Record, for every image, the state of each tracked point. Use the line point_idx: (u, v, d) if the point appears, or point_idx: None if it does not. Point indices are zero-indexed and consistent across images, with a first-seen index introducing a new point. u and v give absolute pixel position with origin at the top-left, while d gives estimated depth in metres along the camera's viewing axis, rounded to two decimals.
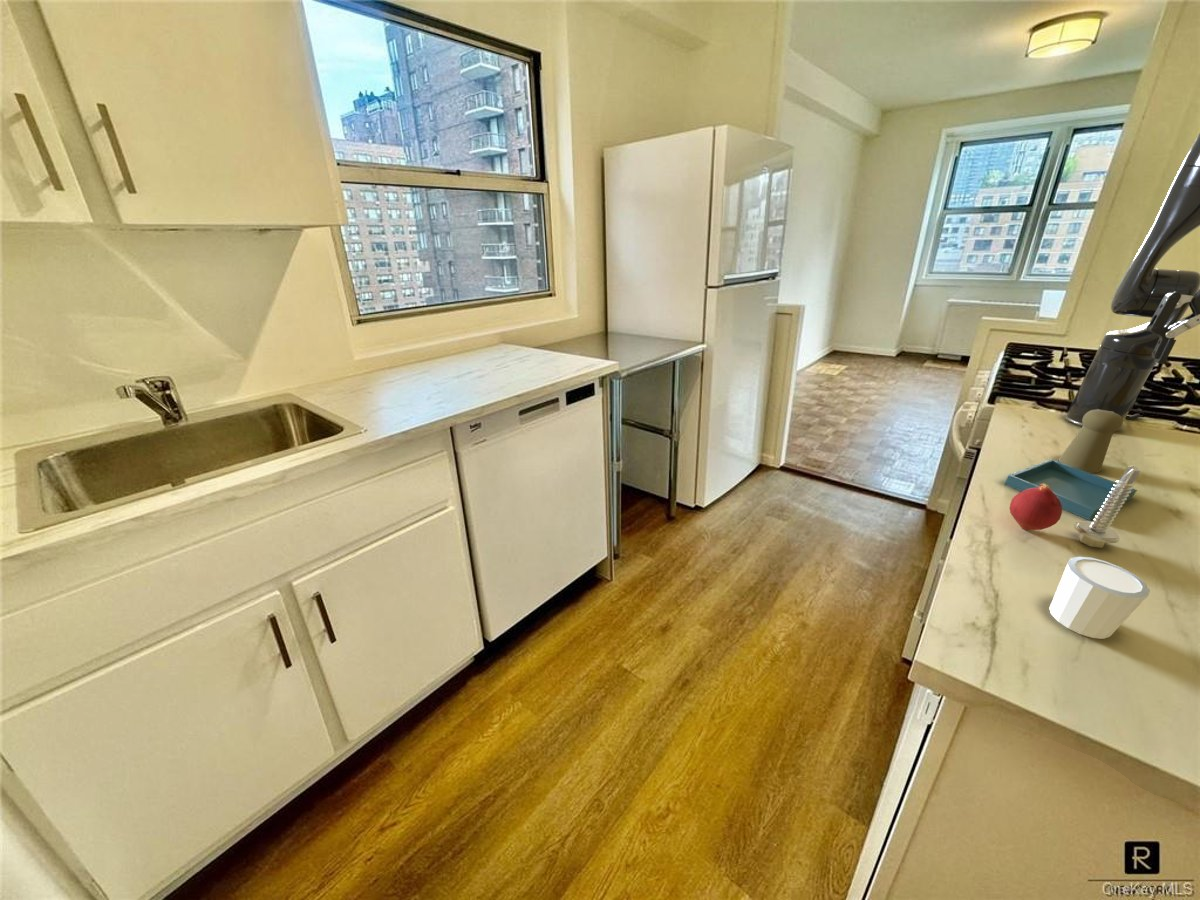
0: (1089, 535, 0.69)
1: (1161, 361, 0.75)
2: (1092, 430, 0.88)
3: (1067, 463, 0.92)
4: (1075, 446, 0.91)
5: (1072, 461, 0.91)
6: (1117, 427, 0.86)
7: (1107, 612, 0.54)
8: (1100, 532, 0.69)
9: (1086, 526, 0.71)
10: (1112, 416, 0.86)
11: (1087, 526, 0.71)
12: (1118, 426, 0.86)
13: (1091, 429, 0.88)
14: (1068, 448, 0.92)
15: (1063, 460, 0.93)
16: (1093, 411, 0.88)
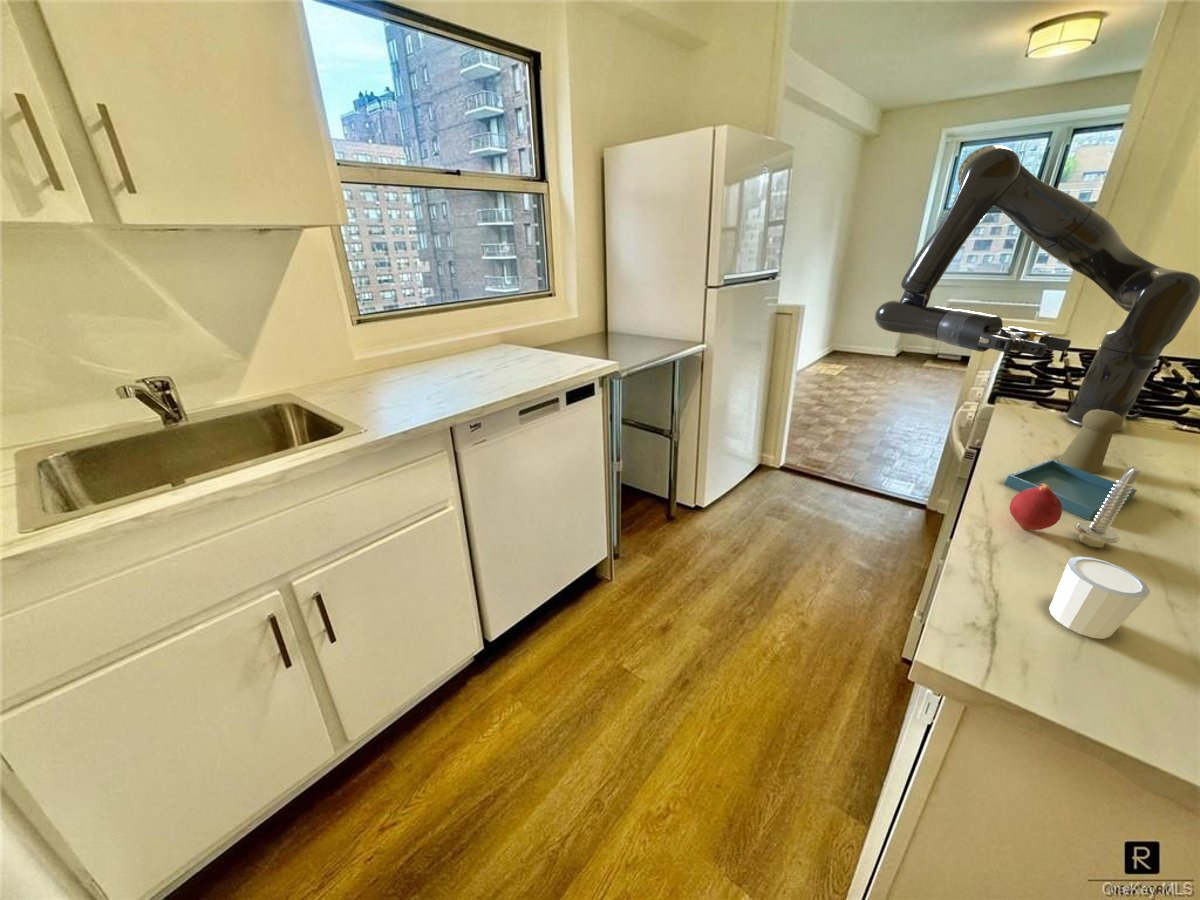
0: (1089, 535, 0.69)
1: (1064, 350, 0.95)
2: (1092, 430, 0.88)
3: (1067, 463, 0.92)
4: (1075, 446, 0.91)
5: (1072, 461, 0.91)
6: (1117, 427, 0.86)
7: (1107, 612, 0.54)
8: (1100, 532, 0.69)
9: (1086, 526, 0.71)
10: (1112, 416, 0.86)
11: (1087, 526, 0.71)
12: (1118, 426, 0.86)
13: (1091, 429, 0.88)
14: (1068, 448, 0.92)
15: (1063, 460, 0.93)
16: (1093, 411, 0.88)
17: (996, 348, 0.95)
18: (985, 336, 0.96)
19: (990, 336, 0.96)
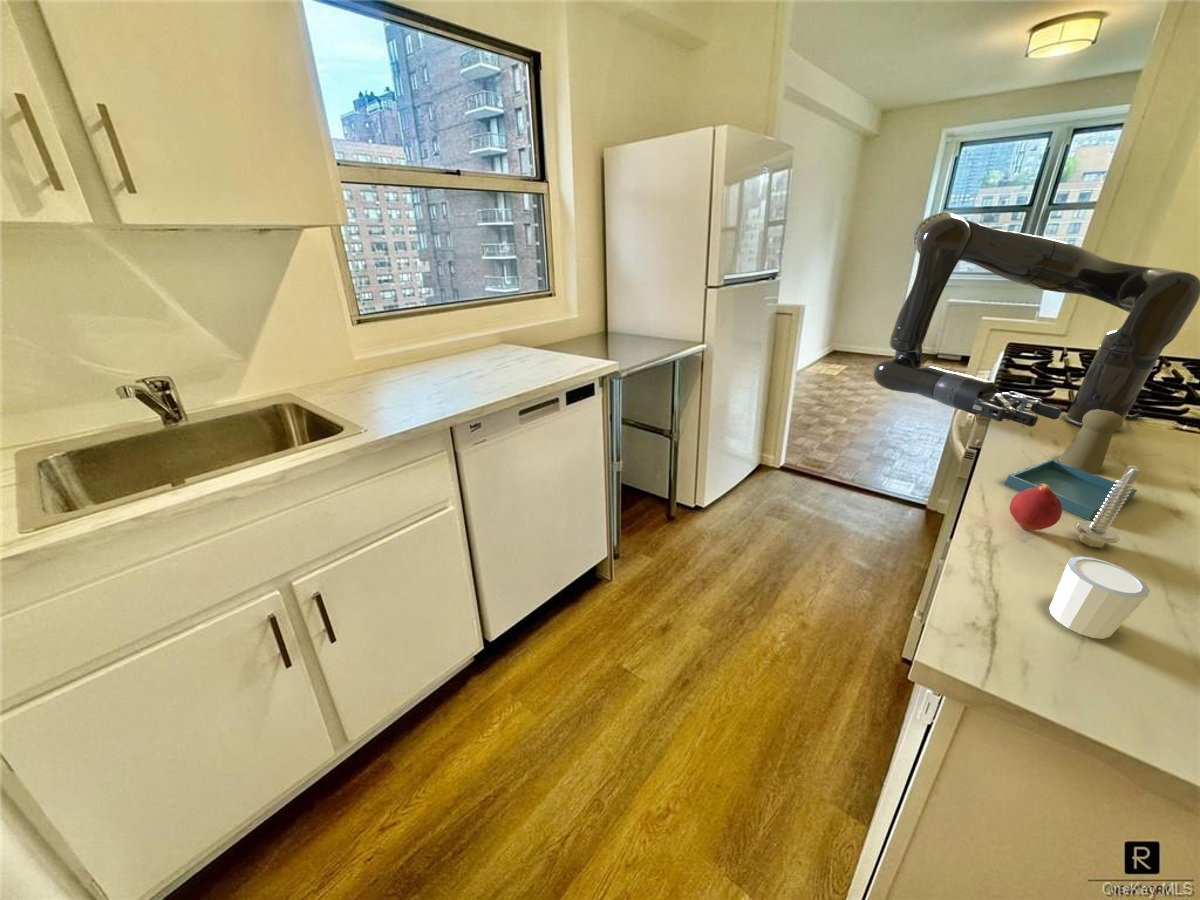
0: (1089, 535, 0.69)
1: None
2: (1092, 430, 0.88)
3: (1067, 463, 0.92)
4: (1075, 446, 0.91)
5: (1072, 461, 0.91)
6: (1117, 427, 0.86)
7: (1107, 612, 0.54)
8: (1100, 532, 0.69)
9: (1086, 526, 0.71)
10: (1112, 416, 0.86)
11: (1087, 526, 0.71)
12: (1118, 426, 0.86)
13: (1091, 429, 0.88)
14: (1068, 448, 0.92)
15: (1063, 460, 0.93)
16: (1093, 411, 0.88)
17: (989, 416, 0.99)
18: (978, 403, 1.00)
19: (983, 404, 0.99)
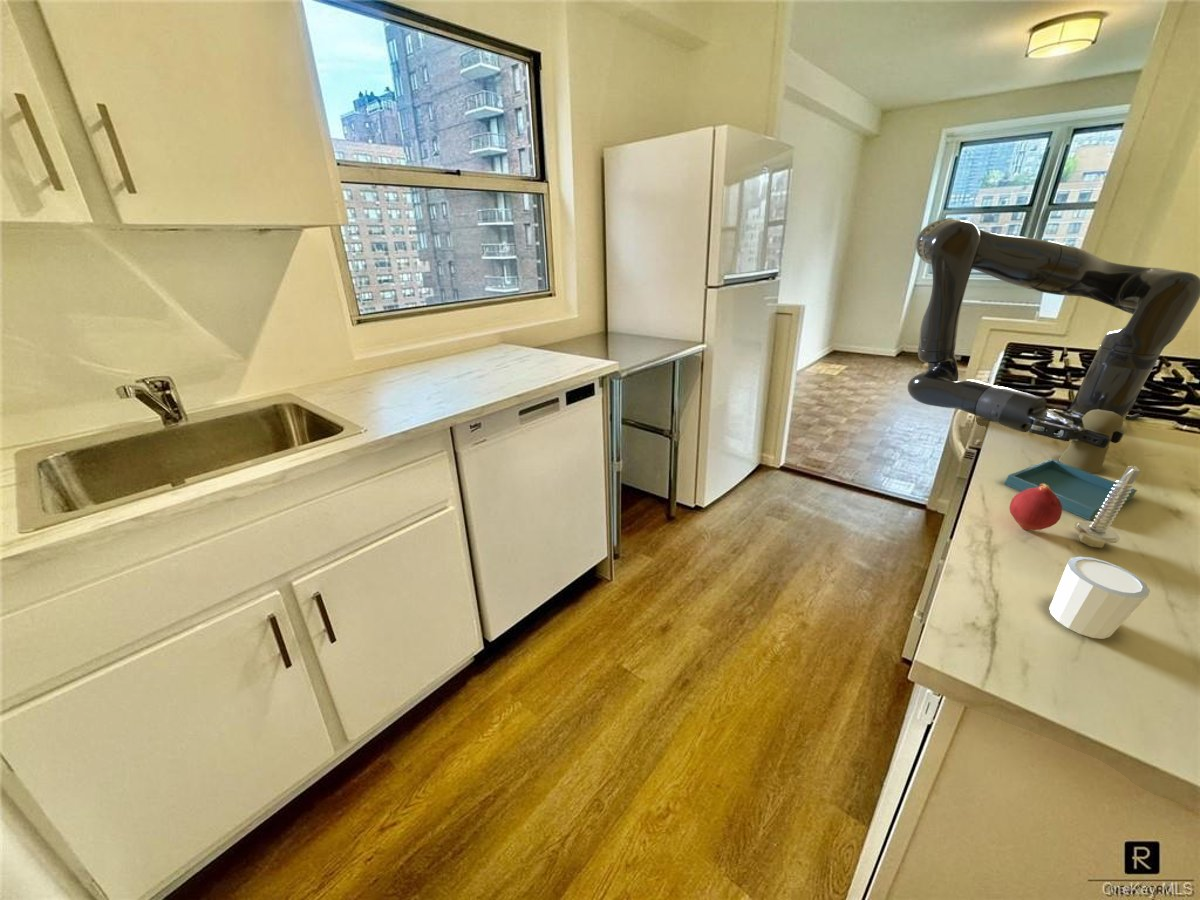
0: (1089, 535, 0.69)
1: (1116, 442, 0.89)
2: (1092, 430, 0.88)
3: (1067, 463, 0.92)
4: (1075, 446, 0.91)
5: (1072, 461, 0.91)
6: (1117, 427, 0.86)
7: (1107, 612, 0.54)
8: (1100, 532, 0.69)
9: (1086, 526, 0.71)
10: (1112, 417, 0.86)
11: (1087, 526, 0.71)
12: (1118, 426, 0.86)
13: (1091, 429, 0.88)
14: (1068, 448, 0.92)
15: (1063, 460, 0.93)
16: (1093, 411, 0.88)
17: (1054, 437, 0.91)
18: (1040, 424, 0.92)
19: (1046, 424, 0.91)
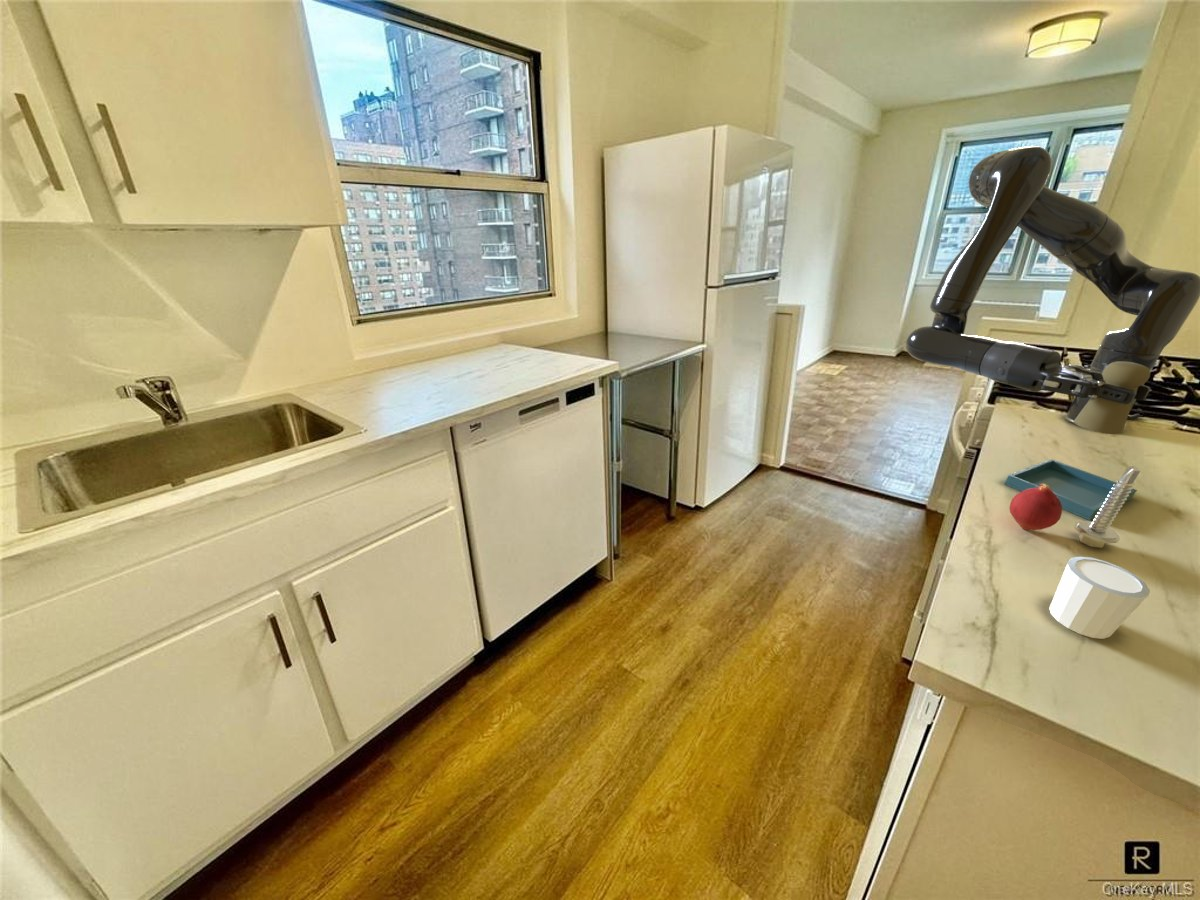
0: (1089, 535, 0.69)
1: None
2: (1114, 384, 0.77)
3: (1084, 424, 0.81)
4: (1093, 404, 0.80)
5: (1090, 422, 0.80)
6: (1143, 380, 0.75)
7: (1107, 612, 0.54)
8: (1100, 532, 0.69)
9: (1086, 526, 0.71)
10: (1138, 368, 0.75)
11: (1087, 526, 0.71)
12: (1145, 379, 0.75)
13: (1112, 384, 0.77)
14: (1085, 407, 0.81)
15: (1079, 421, 0.82)
16: (1116, 363, 0.77)
17: (1070, 393, 0.79)
18: (1054, 379, 0.80)
19: (1061, 379, 0.80)
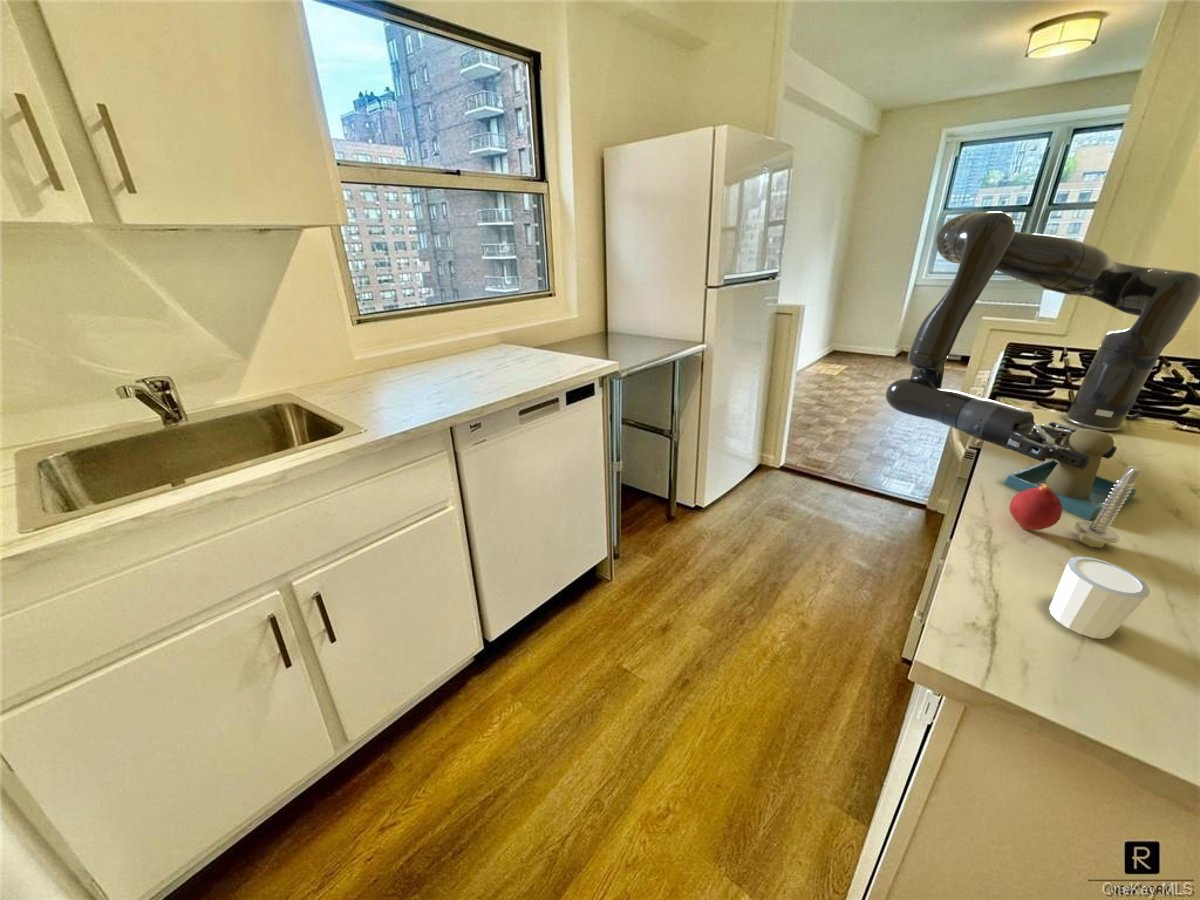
0: (1089, 535, 0.69)
1: (1108, 457, 0.81)
2: (1079, 451, 0.80)
3: (1053, 487, 0.83)
4: (1061, 469, 0.82)
5: (1058, 486, 0.82)
6: (1107, 449, 0.77)
7: (1107, 612, 0.54)
8: (1100, 532, 0.69)
9: (1086, 526, 0.71)
10: (1101, 437, 0.77)
11: (1087, 526, 0.71)
12: (1108, 448, 0.77)
13: (1078, 451, 0.80)
14: (1054, 471, 0.84)
15: (1048, 484, 0.84)
16: (1081, 431, 0.80)
17: (1028, 454, 0.82)
18: (1015, 439, 0.83)
19: (1021, 440, 0.83)
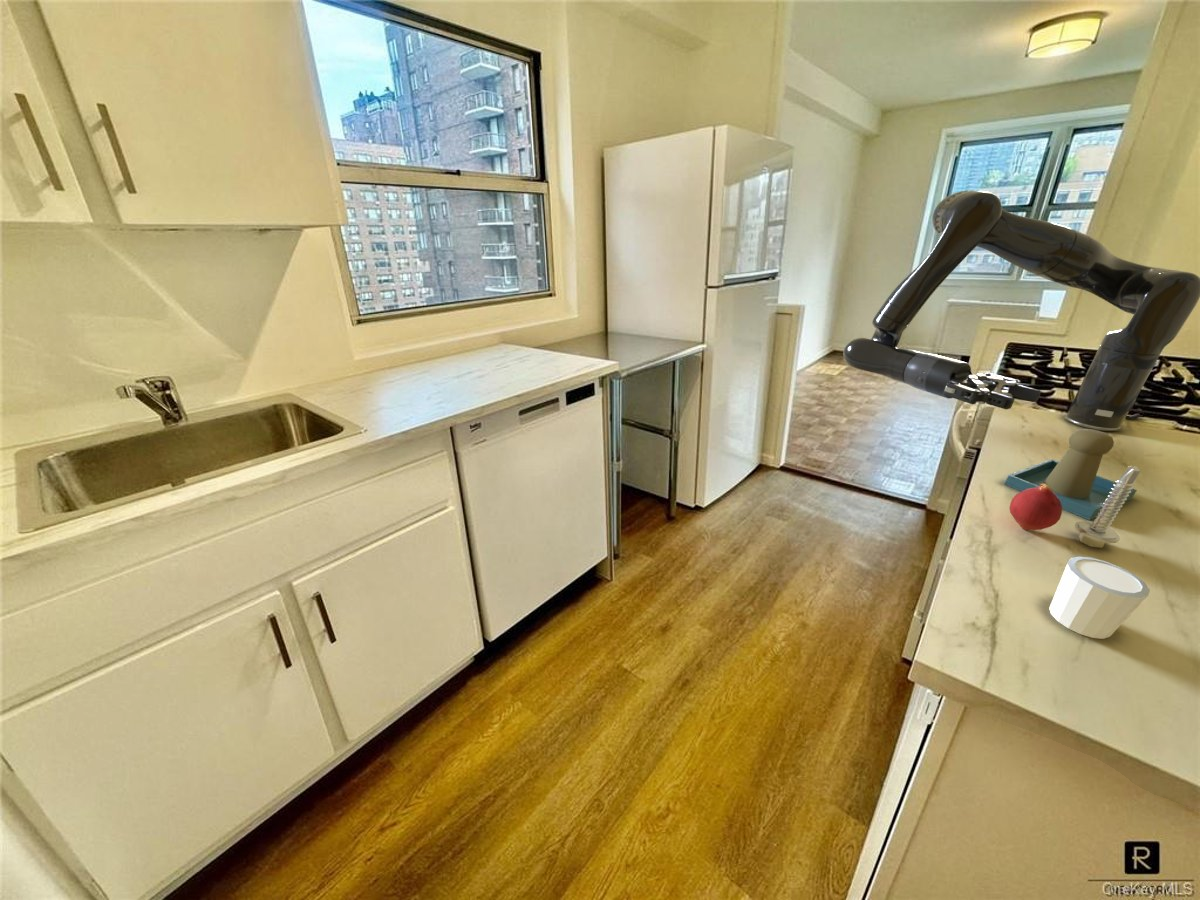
0: (1089, 535, 0.69)
1: None
2: (1079, 451, 0.80)
3: (1053, 487, 0.83)
4: (1061, 469, 0.82)
5: (1058, 486, 0.82)
6: (1107, 449, 0.77)
7: (1107, 612, 0.54)
8: (1100, 532, 0.69)
9: (1086, 526, 0.71)
10: (1101, 437, 0.77)
11: (1087, 526, 0.71)
12: (1108, 448, 0.77)
13: (1078, 451, 0.80)
14: (1054, 471, 0.84)
15: (1048, 484, 0.84)
16: (1081, 431, 0.80)
17: (961, 399, 0.90)
18: (950, 385, 0.91)
19: (955, 386, 0.90)
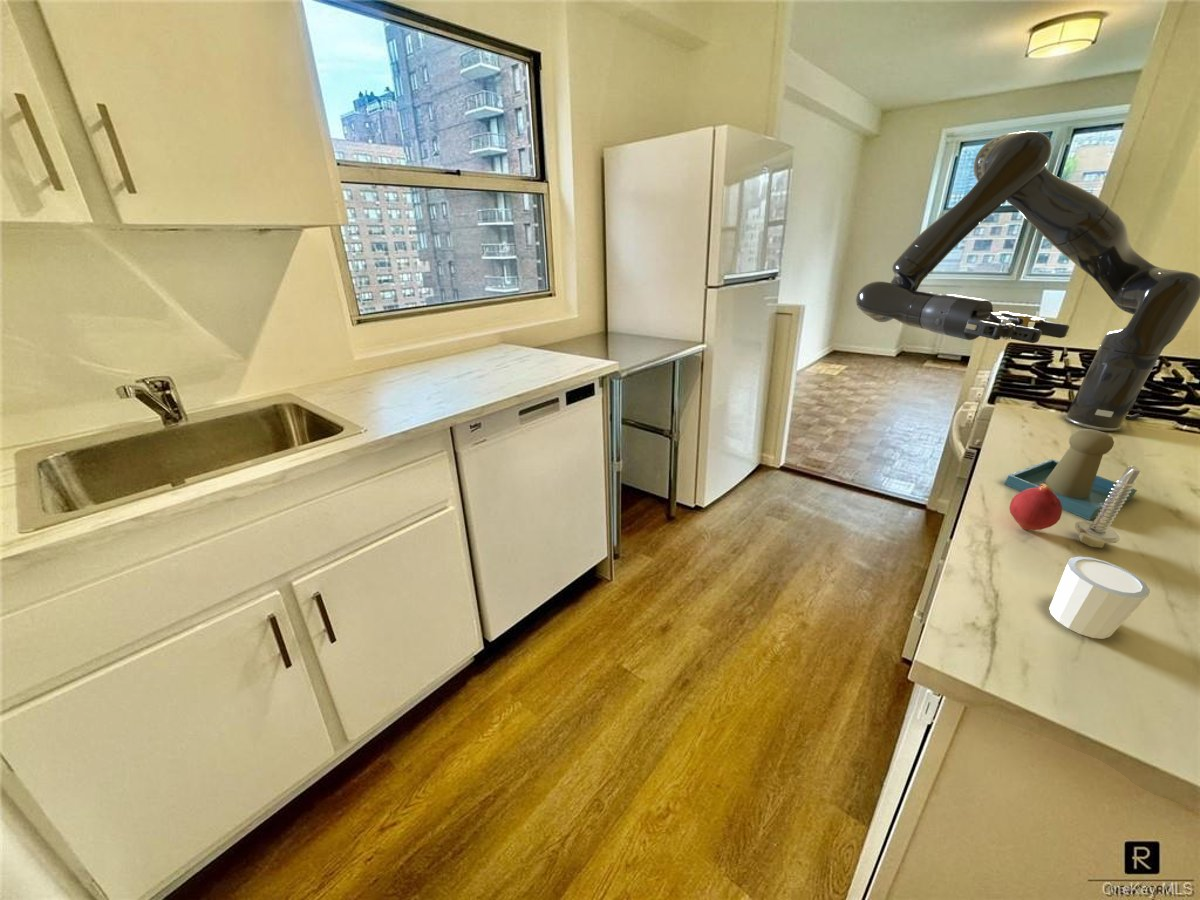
0: (1089, 535, 0.69)
1: (1061, 337, 0.84)
2: (1079, 451, 0.80)
3: (1053, 487, 0.83)
4: (1061, 469, 0.82)
5: (1058, 486, 0.82)
6: (1107, 449, 0.77)
7: (1107, 612, 0.54)
8: (1100, 532, 0.69)
9: (1086, 526, 0.71)
10: (1101, 437, 0.77)
11: (1087, 526, 0.71)
12: (1108, 448, 0.77)
13: (1078, 451, 0.80)
14: (1054, 471, 0.84)
15: (1048, 484, 0.84)
16: (1081, 431, 0.80)
17: (984, 335, 0.84)
18: (972, 322, 0.86)
19: (978, 321, 0.85)
